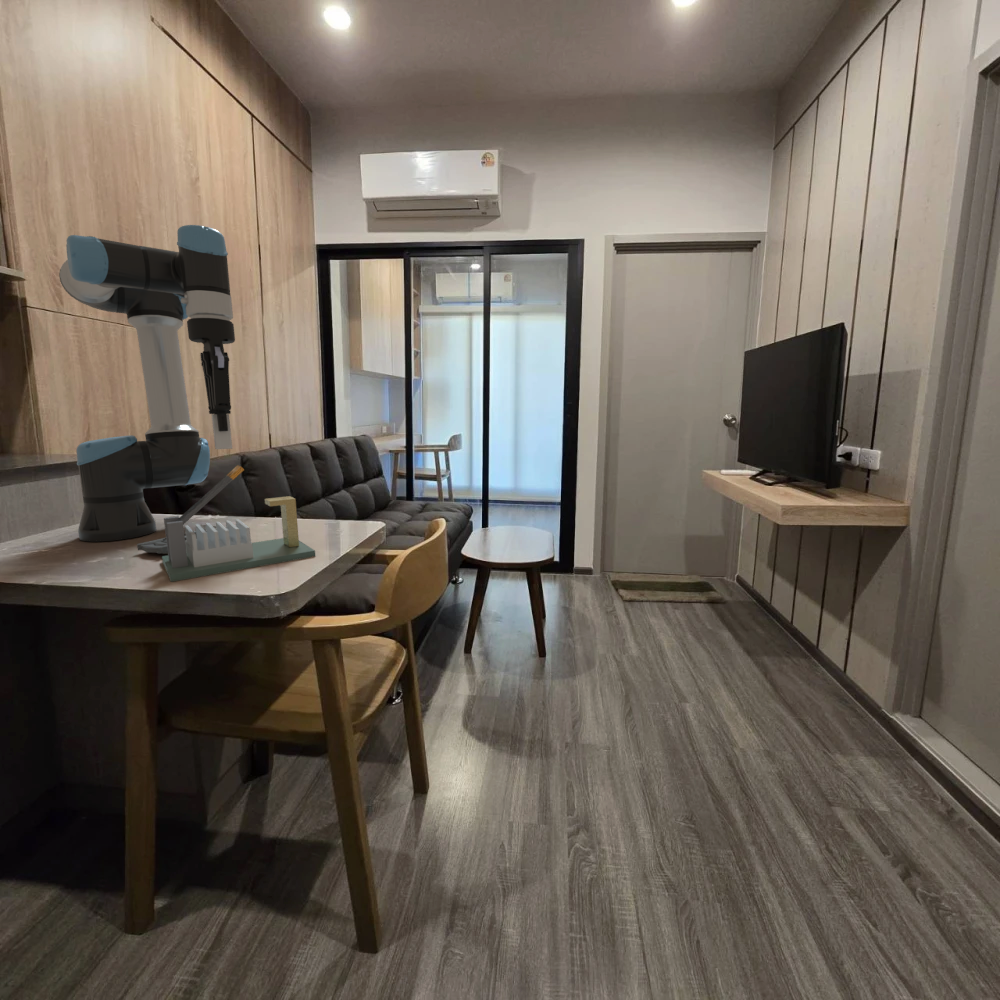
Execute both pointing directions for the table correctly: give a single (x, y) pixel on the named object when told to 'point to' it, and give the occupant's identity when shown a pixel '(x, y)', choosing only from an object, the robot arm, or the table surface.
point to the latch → (287, 518)
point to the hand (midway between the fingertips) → (223, 448)
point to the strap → (211, 494)
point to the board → (259, 559)
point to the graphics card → (160, 544)
